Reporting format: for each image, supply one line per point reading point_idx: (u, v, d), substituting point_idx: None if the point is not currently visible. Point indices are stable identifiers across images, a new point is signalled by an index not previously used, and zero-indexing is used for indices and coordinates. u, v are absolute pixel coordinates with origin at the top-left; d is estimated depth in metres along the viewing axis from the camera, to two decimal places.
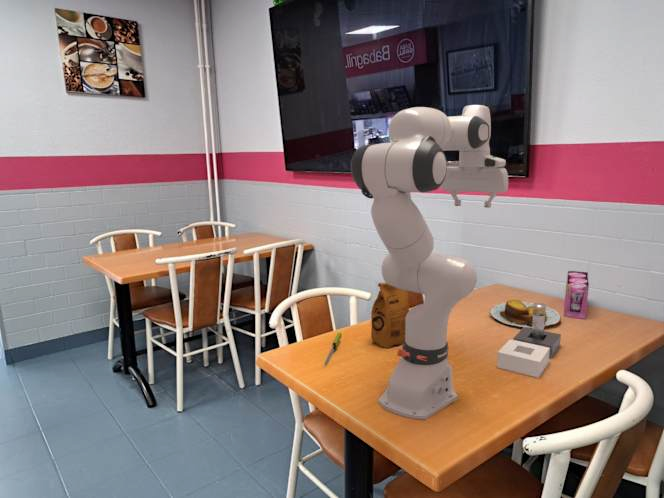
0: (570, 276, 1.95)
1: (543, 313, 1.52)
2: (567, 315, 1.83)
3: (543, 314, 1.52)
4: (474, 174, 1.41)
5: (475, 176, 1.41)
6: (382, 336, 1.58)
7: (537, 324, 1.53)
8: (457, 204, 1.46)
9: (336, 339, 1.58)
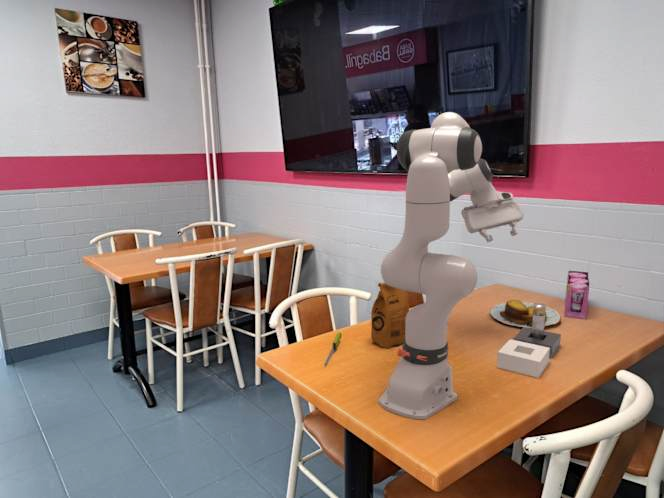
0: (570, 276, 1.95)
1: (543, 313, 1.52)
2: (568, 315, 1.83)
3: (543, 314, 1.52)
4: (495, 209, 1.59)
5: (496, 210, 1.59)
6: (382, 336, 1.58)
7: (537, 324, 1.53)
8: (491, 238, 1.56)
9: (336, 339, 1.58)
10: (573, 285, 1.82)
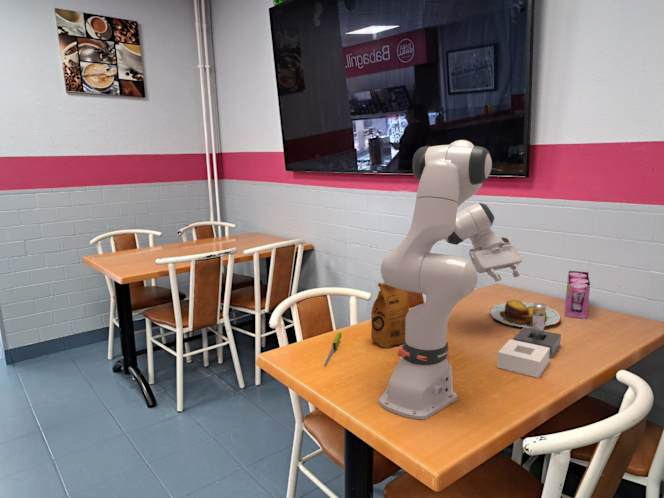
0: (571, 276, 1.95)
1: (543, 313, 1.52)
2: (568, 315, 1.83)
3: (543, 314, 1.52)
4: (498, 252, 1.67)
5: (499, 253, 1.67)
6: (382, 336, 1.58)
7: (537, 324, 1.53)
8: (500, 277, 1.61)
9: (336, 339, 1.58)
10: (574, 285, 1.82)
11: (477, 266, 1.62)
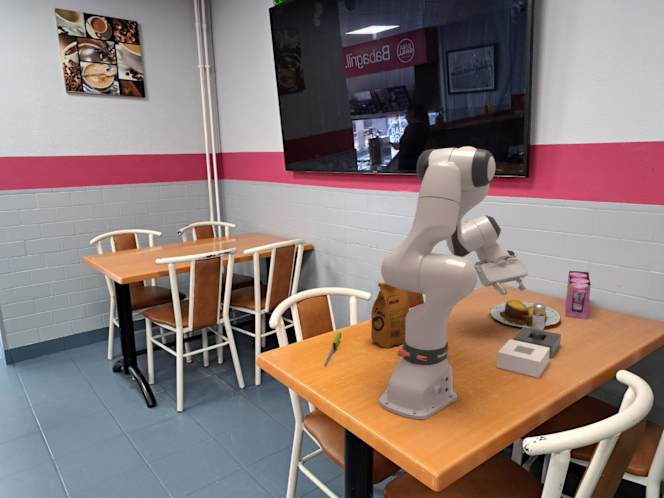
0: (571, 276, 1.95)
1: (543, 313, 1.52)
2: (569, 315, 1.83)
3: (543, 314, 1.52)
4: (503, 265, 1.65)
5: (505, 266, 1.65)
6: (382, 336, 1.58)
7: (537, 324, 1.53)
8: (506, 291, 1.59)
9: (336, 339, 1.58)
10: (574, 285, 1.82)
11: (483, 279, 1.60)
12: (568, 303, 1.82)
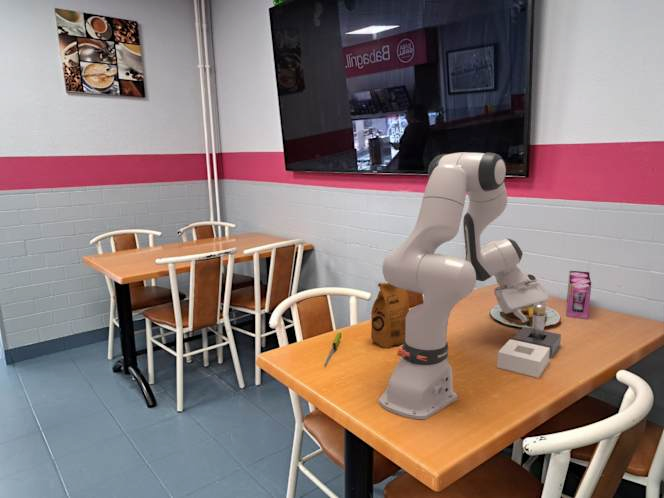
0: (572, 276, 1.95)
1: (543, 313, 1.52)
2: (570, 315, 1.83)
3: (543, 314, 1.52)
4: (524, 290, 1.59)
5: (525, 291, 1.59)
6: (382, 336, 1.58)
7: (537, 324, 1.53)
8: (527, 318, 1.53)
9: (336, 339, 1.58)
10: (575, 285, 1.82)
11: (503, 306, 1.54)
12: (569, 303, 1.83)
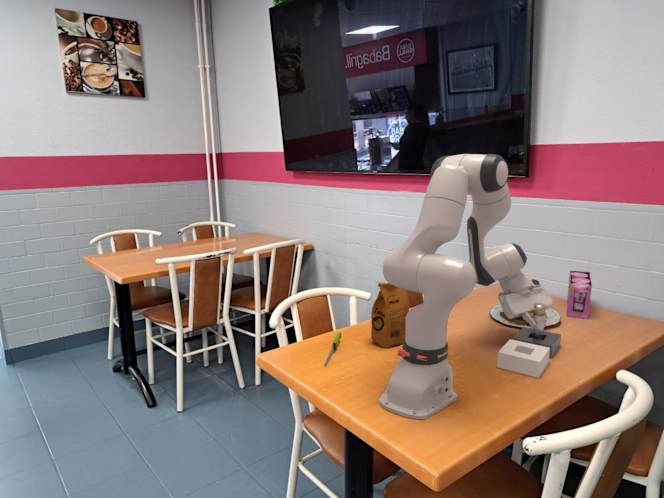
0: (572, 276, 1.95)
1: (543, 313, 1.52)
2: (570, 315, 1.83)
3: (543, 314, 1.52)
4: (528, 295, 1.58)
5: (529, 296, 1.58)
6: (382, 336, 1.58)
7: (537, 324, 1.53)
8: (536, 323, 1.53)
9: (336, 339, 1.58)
10: (575, 285, 1.82)
11: (507, 311, 1.53)
12: (569, 303, 1.83)
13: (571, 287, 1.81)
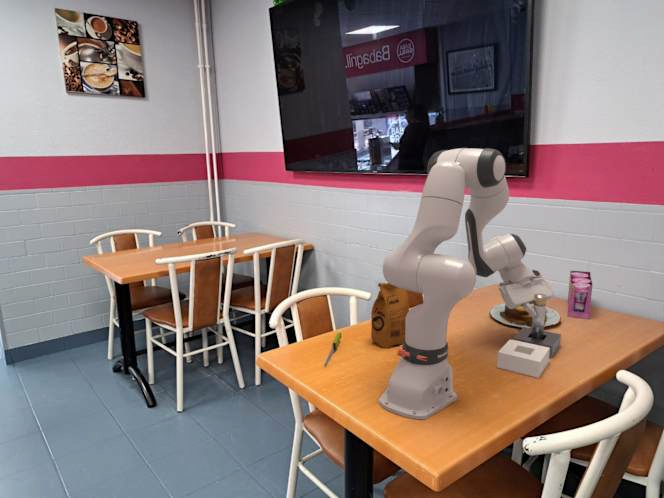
0: (573, 276, 1.95)
1: (544, 303, 1.51)
2: (571, 315, 1.83)
3: (544, 304, 1.51)
4: (529, 286, 1.57)
5: (530, 287, 1.57)
6: (382, 336, 1.58)
7: (538, 315, 1.52)
8: (536, 313, 1.52)
9: (336, 339, 1.58)
10: (576, 285, 1.82)
11: (508, 302, 1.52)
12: (570, 303, 1.83)
13: (572, 287, 1.81)
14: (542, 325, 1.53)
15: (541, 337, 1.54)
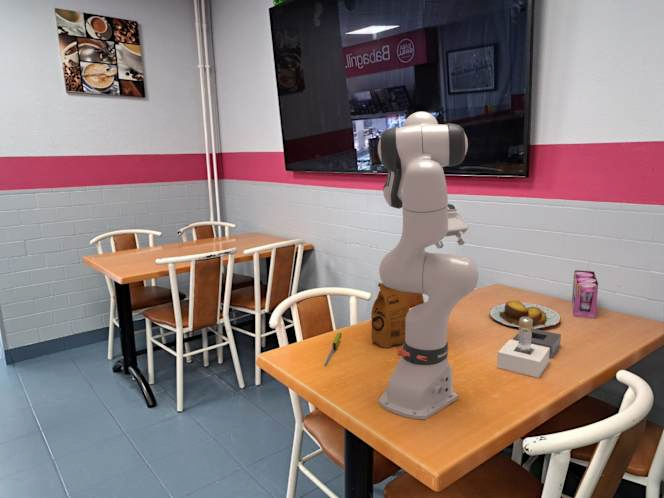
0: (577, 275, 1.96)
1: (530, 328, 1.40)
2: (577, 314, 1.84)
3: (530, 329, 1.40)
4: None
5: None
6: (382, 336, 1.58)
7: (524, 341, 1.40)
8: (442, 244, 1.51)
9: (336, 339, 1.58)
10: (582, 284, 1.82)
11: None
12: (576, 302, 1.83)
13: (578, 287, 1.82)
14: (528, 351, 1.41)
15: None
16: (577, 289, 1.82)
